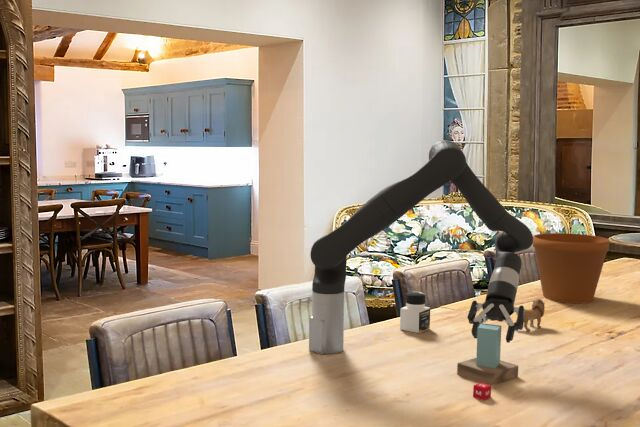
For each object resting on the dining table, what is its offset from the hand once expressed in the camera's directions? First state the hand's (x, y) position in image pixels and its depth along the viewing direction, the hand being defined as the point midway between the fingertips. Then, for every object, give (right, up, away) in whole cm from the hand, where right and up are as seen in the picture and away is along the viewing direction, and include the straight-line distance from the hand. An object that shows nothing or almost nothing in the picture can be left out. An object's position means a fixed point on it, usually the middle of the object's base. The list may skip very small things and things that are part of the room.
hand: (490, 338), depth 189 cm
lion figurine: (+24, -5, +50) cm, 55 cm away
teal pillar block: (-1, -7, +1) cm, 7 cm away
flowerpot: (+52, -1, +96) cm, 109 cm away
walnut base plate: (-1, -10, +1) cm, 10 cm away
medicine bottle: (-14, -5, +46) cm, 48 cm away
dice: (-6, -12, -15) cm, 20 cm away
